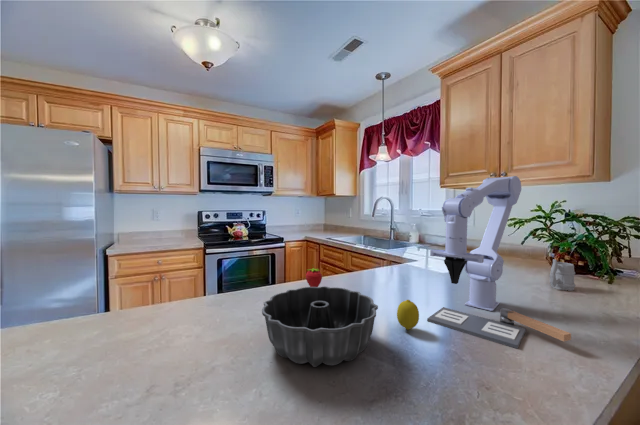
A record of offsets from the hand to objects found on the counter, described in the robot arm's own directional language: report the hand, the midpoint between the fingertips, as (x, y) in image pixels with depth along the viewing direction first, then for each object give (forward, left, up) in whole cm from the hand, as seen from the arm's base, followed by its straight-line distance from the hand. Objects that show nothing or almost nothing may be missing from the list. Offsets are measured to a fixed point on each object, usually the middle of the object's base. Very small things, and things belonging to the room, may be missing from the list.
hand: (454, 282), depth 84 cm
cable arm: (0, +19, -7) cm, 20 cm away
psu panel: (+5, +7, -9) cm, 13 cm away
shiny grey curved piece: (-3, +13, -9) cm, 16 cm away
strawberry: (+15, -45, -10) cm, 48 cm away
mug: (-57, +21, -10) cm, 61 cm away
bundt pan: (+42, -16, -10) cm, 46 cm away
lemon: (+20, -5, -10) cm, 23 cm away
